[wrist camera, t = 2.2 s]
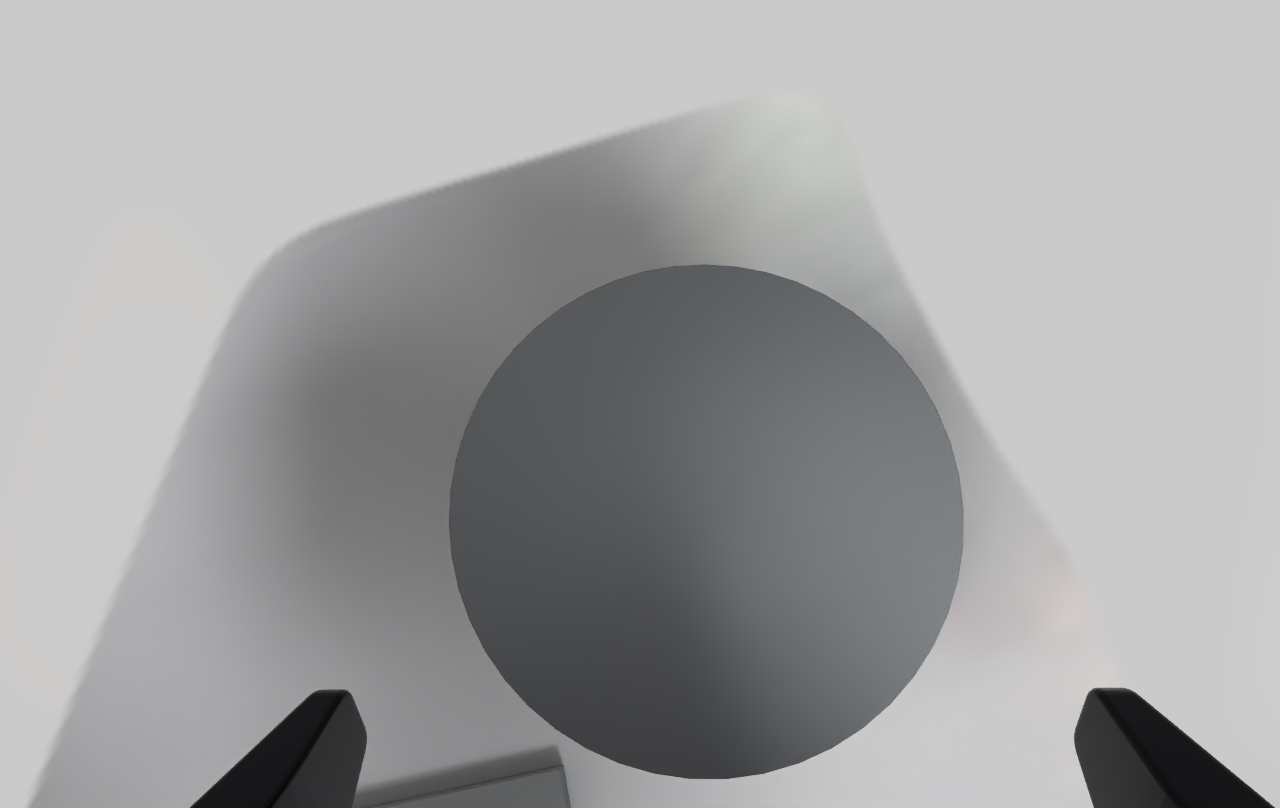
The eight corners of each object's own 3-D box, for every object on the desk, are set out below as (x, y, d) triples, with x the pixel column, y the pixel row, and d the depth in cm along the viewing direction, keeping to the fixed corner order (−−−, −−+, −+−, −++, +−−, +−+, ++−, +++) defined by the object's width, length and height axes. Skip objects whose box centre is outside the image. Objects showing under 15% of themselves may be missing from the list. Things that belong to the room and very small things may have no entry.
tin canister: (833, 642, 18) (1041, 713, 7) (627, 688, 19) (491, 832, 7) (778, 440, 20) (874, 217, 8) (587, 484, 20) (418, 325, 8)
